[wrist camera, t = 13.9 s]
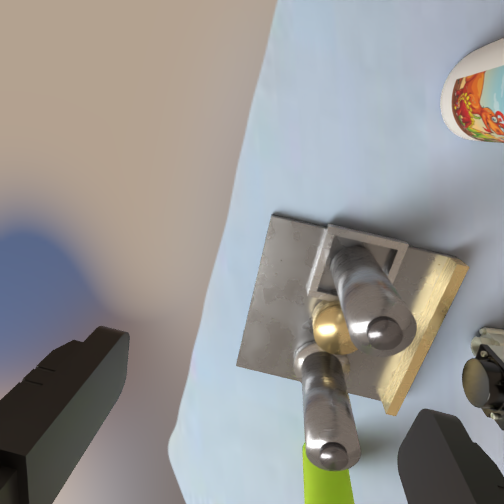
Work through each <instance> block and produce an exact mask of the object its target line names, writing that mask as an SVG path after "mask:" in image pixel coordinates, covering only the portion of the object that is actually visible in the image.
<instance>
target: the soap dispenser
mask: <svg viewBox="0 0 504 504" xmlns="http://www.w3.org/2000/svg"><path fill="white" fill-rule="evenodd" d="M303 474H304V498H305V504H354V499H353V493H352V487H351V481H350V476H349V470H348V469H346V470H342V471H327V470H323V469H320V468H318V467H316V466H315V465H313V464H312V463H311V462H310V461H309V459H308V458H307V456H306V449H305V443H304V445H303Z"/></svg>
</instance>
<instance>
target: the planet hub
mask: <svg viewBox="0 0 504 504" xmlns="http://www.w3.org/2000/svg"><path fill="white" fill-rule="evenodd" d="M331 274H332V277H333V281H334V284H335V288H336V291H337V294H338V298H339V301H340V304H341V308H342V311H343V314H344V318H345V321H346V325H347V328H348V331H349V335H350V338H351V341H352V342H353V344H354V345H355V347H356V348H357V349H359V350H360V351H361V352H363V353H365V354H367V355H370V356H374V357H388V356H392V355H395V354H398V353H400V352H402V351H403V350H405V349H406V348H407V347H408V346H409V345H410V344H411V343H412V341H413V340H414V338H415V335H416V331H417V324H416V320H415V318H414V316H413V314H412V313H411V311H410V310H409V308H408V307H407V305H406V304H405V302H404V301H403V299H402V298H401V296H400V295H399V293H398V292H397V290H396V289H395V287H394V286H393V284H392V283H391V281H390V280H389V279H388V277H387V276H386V274H385V273H384V271H383V270H382V268H381V267H380V265H379V264H378V262H377V261H376V259H375V258H374V256H373V255H372V253H371V252H369V251H368V250H367V249H365V248H362V247H357V246H353V247H347V248H345V249H342V250H341V251H339V252H338V253H337V254H336V255H335V256H334V258H333V260H332V262H331Z"/></svg>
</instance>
